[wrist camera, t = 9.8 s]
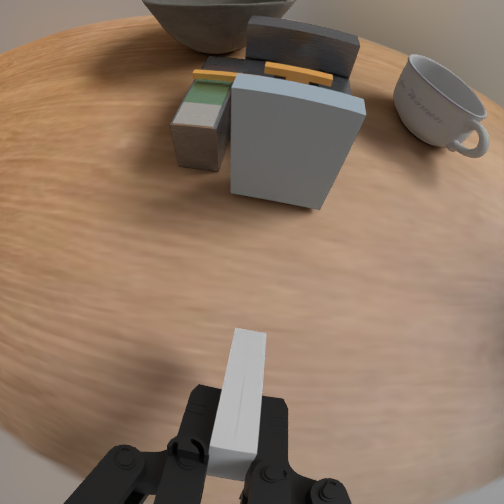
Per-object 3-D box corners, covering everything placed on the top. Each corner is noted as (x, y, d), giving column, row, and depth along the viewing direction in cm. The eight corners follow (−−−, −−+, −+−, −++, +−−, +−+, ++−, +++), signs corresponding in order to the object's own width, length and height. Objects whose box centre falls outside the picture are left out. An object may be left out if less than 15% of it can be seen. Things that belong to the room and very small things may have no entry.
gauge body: (335, 100, 29) (357, 36, 20) (336, 194, 23) (377, 117, 15) (217, 80, 29) (216, 12, 20) (178, 166, 24) (161, 81, 15)
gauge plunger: (323, 138, 25) (353, 50, 16) (319, 210, 22) (366, 115, 13) (248, 124, 25) (256, 30, 16) (230, 193, 22) (231, 87, 13)
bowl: (258, 95, 28) (267, 14, 19) (124, 69, 30) (110, 7, 20) (304, 38, 35) (315, -15, 26) (196, 18, 37) (195, -30, 27)
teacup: (375, 90, 31) (395, 42, 23) (439, 110, 31) (463, 71, 24) (406, 173, 25) (445, 119, 18) (475, 190, 26) (515, 150, 18)
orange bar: (326, 96, 21) (332, 74, 19) (326, 101, 21) (332, 79, 18) (195, 76, 21) (194, 55, 19) (192, 81, 21) (190, 59, 19)
